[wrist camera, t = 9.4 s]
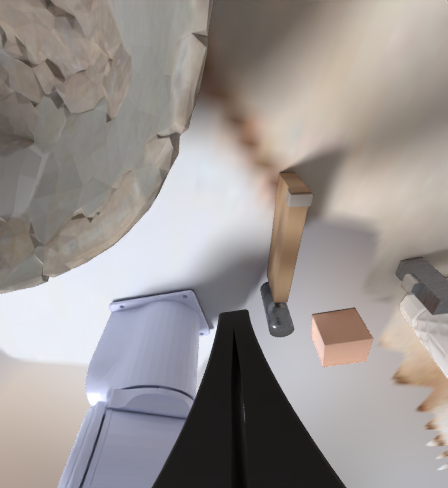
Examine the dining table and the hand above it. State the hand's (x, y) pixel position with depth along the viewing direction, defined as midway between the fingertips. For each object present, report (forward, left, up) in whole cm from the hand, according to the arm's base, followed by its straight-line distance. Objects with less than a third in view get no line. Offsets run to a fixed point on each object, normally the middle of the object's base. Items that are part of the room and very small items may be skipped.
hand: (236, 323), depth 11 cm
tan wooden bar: (+4, -2, -10) cm, 11 cm away
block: (+10, -18, -10) cm, 23 cm away
